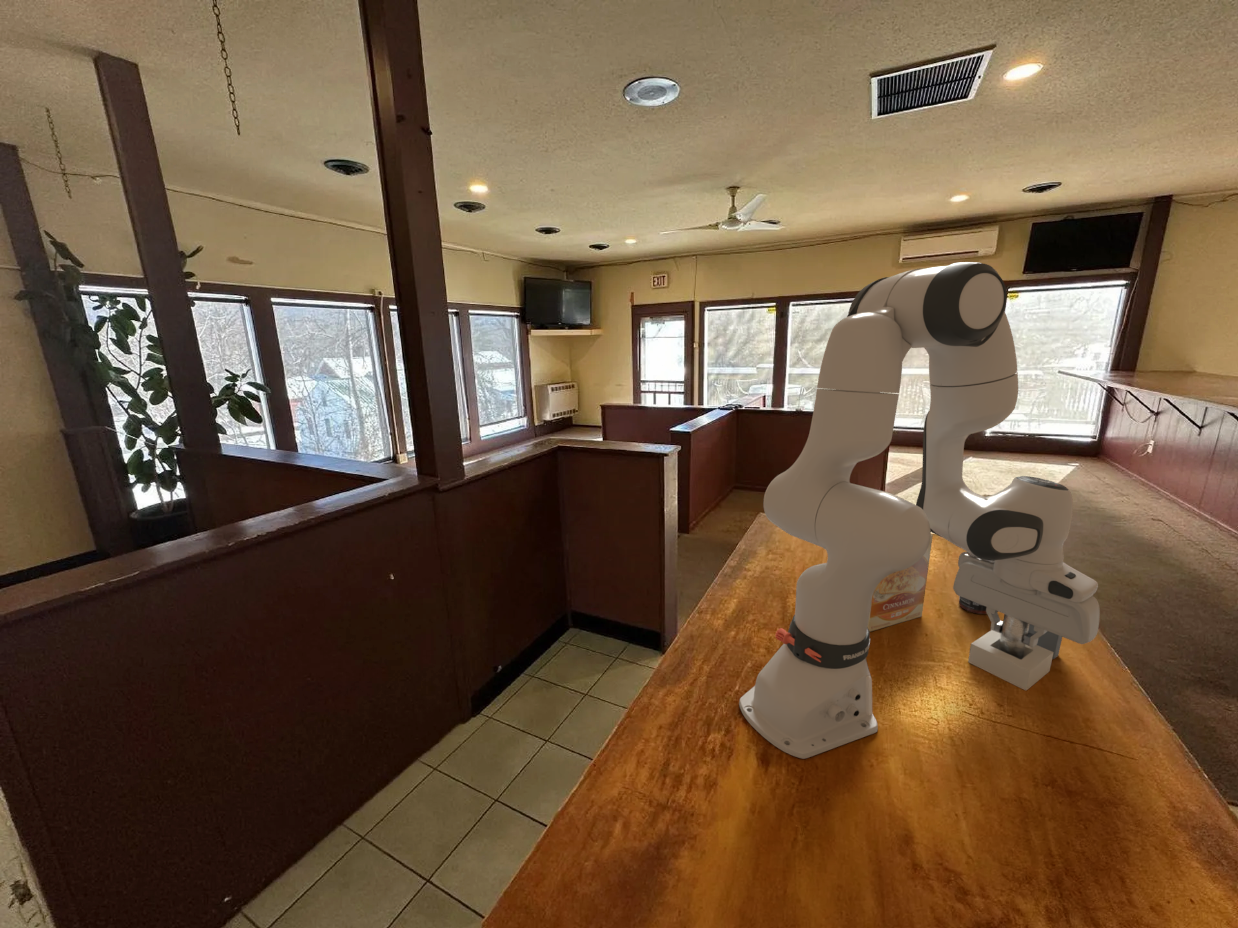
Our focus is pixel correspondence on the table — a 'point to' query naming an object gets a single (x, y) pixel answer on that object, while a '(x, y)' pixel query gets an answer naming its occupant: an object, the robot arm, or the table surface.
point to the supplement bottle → (972, 606)
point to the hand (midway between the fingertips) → (1013, 637)
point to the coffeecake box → (900, 595)
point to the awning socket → (1011, 667)
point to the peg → (1013, 636)
